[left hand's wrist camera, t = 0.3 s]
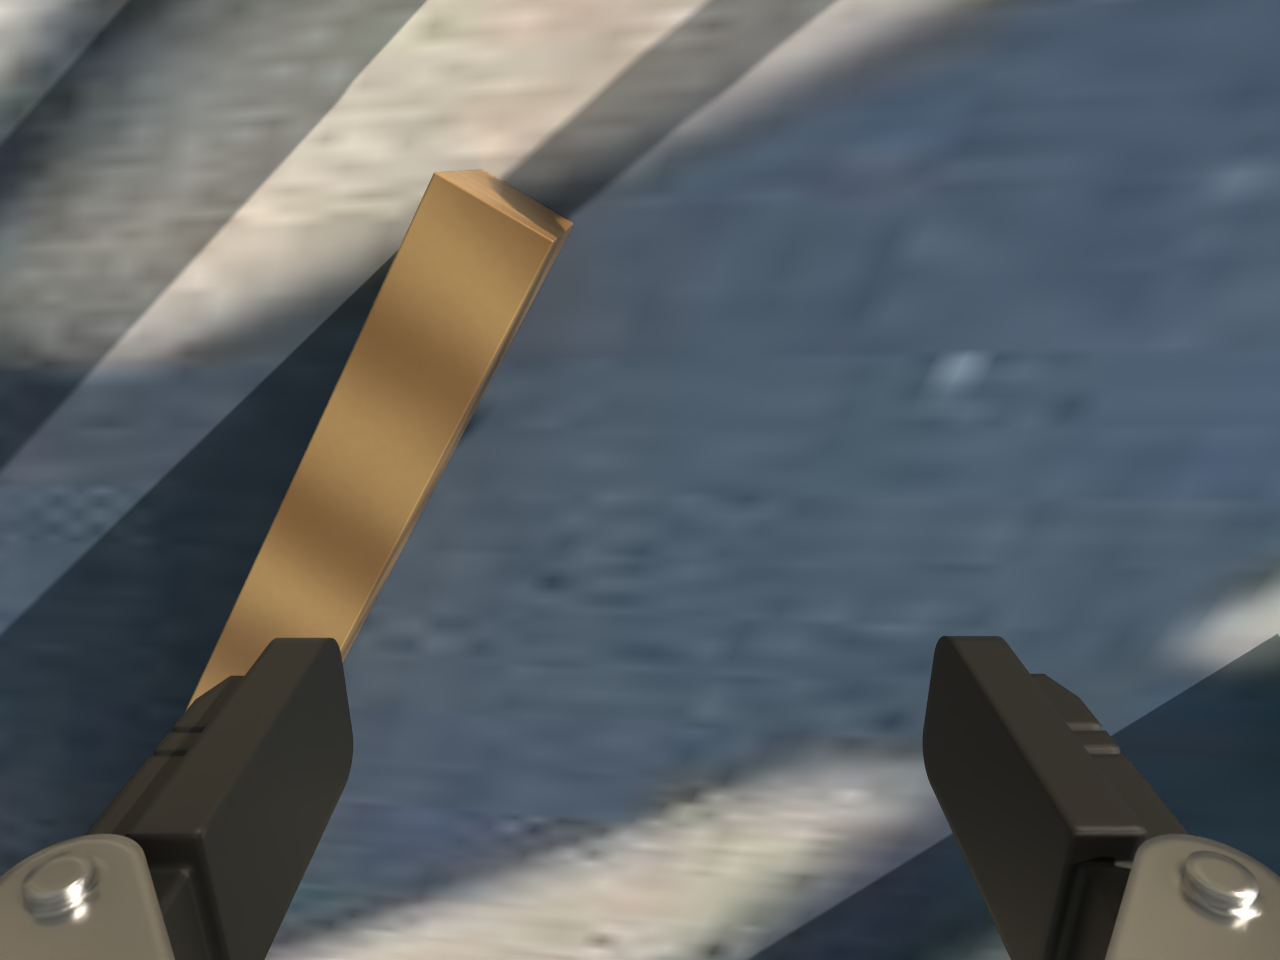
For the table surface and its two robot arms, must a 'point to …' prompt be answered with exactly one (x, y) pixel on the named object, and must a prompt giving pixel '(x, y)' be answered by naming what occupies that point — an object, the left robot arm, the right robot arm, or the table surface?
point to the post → (394, 415)
